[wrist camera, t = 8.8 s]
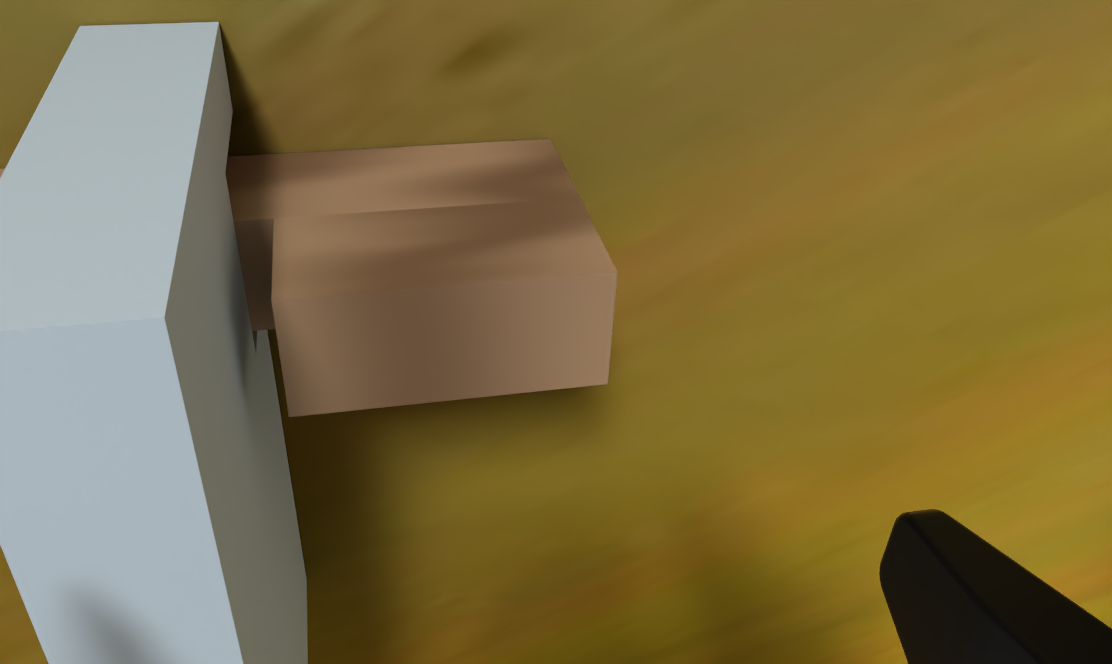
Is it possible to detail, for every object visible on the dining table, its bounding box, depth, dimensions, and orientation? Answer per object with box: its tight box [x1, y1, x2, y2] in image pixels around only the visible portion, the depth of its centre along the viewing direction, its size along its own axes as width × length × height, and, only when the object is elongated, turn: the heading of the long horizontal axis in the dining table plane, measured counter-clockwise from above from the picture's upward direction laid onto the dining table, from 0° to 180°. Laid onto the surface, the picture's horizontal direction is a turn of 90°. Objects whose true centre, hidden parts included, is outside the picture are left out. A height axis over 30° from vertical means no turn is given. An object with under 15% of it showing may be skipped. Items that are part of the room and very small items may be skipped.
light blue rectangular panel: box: [0, 22, 308, 664], centre depth 17 cm, size 14×2×9 cm, turn 178°
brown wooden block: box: [0, 139, 617, 417], centre depth 17 cm, size 14×2×5 cm, turn 88°
